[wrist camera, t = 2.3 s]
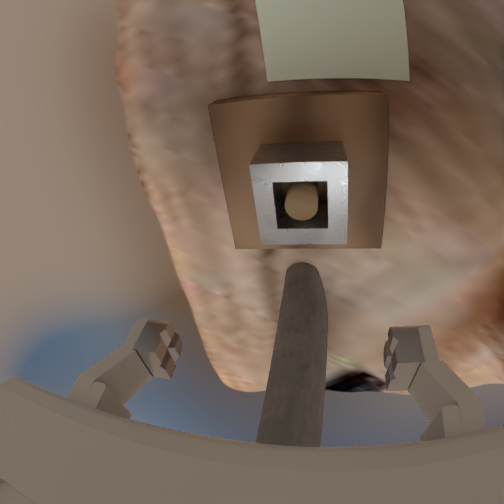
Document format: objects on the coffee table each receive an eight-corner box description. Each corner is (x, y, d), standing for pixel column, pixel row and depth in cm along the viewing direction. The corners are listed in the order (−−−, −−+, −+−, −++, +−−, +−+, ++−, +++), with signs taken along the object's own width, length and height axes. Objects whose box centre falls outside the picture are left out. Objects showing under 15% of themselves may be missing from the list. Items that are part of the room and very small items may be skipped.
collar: (342, 141, 20) (347, 161, 16) (343, 213, 23) (346, 244, 20) (260, 144, 21) (249, 164, 18) (269, 214, 24) (260, 244, 21)
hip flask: (284, 263, 29) (239, 488, 14) (328, 261, 28) (314, 495, 13) (297, 361, 38) (274, 514, 23) (329, 361, 37) (315, 517, 22)
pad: (393, -45, 12) (394, -47, 11) (408, 80, 18) (409, 80, 17) (248, -43, 14) (247, -44, 14) (268, 81, 20) (267, 81, 20)
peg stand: (382, 92, 19) (404, 107, 14) (377, 234, 26) (388, 281, 21) (216, 100, 21) (186, 118, 17) (240, 235, 28) (223, 280, 24)
